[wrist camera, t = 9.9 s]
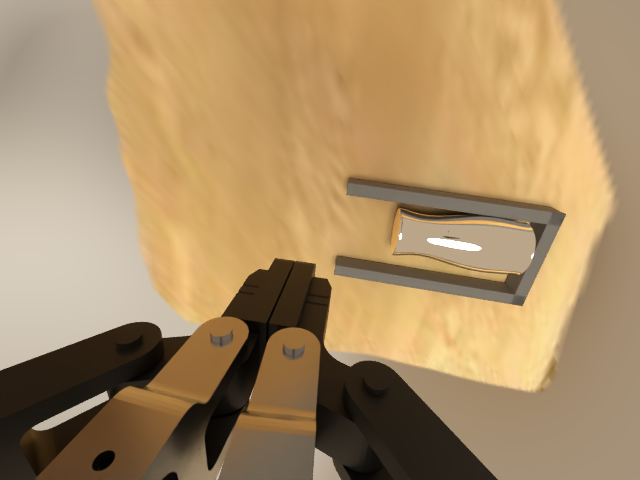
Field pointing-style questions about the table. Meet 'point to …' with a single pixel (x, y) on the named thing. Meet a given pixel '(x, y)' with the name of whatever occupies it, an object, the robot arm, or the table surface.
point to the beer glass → (465, 241)
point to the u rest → (510, 292)
